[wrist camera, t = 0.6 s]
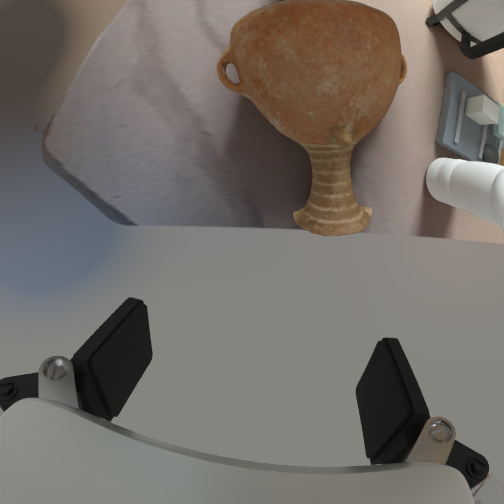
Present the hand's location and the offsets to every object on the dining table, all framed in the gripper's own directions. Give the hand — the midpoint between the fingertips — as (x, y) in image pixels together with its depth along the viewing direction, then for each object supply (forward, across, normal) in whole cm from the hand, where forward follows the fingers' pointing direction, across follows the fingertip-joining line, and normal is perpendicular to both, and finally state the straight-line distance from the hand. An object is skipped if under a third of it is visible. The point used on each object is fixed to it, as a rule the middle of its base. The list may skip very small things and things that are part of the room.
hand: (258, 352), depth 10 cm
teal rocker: (+27, -34, -22) cm, 49 cm away
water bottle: (+32, -25, -9) cm, 41 cm away
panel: (+32, -33, -19) cm, 50 cm away
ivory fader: (+29, -29, -22) cm, 46 cm away
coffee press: (+32, -27, -39) cm, 57 cm away
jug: (+32, -3, -14) cm, 35 cm away
